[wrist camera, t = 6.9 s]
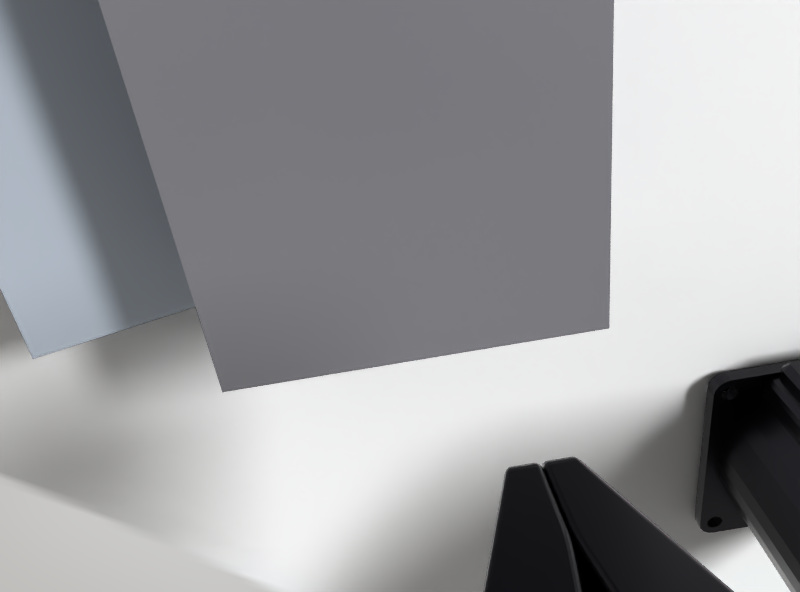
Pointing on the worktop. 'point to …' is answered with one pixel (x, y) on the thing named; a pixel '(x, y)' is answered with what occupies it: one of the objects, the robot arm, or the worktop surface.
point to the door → (76, 185)
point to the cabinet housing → (377, 172)
